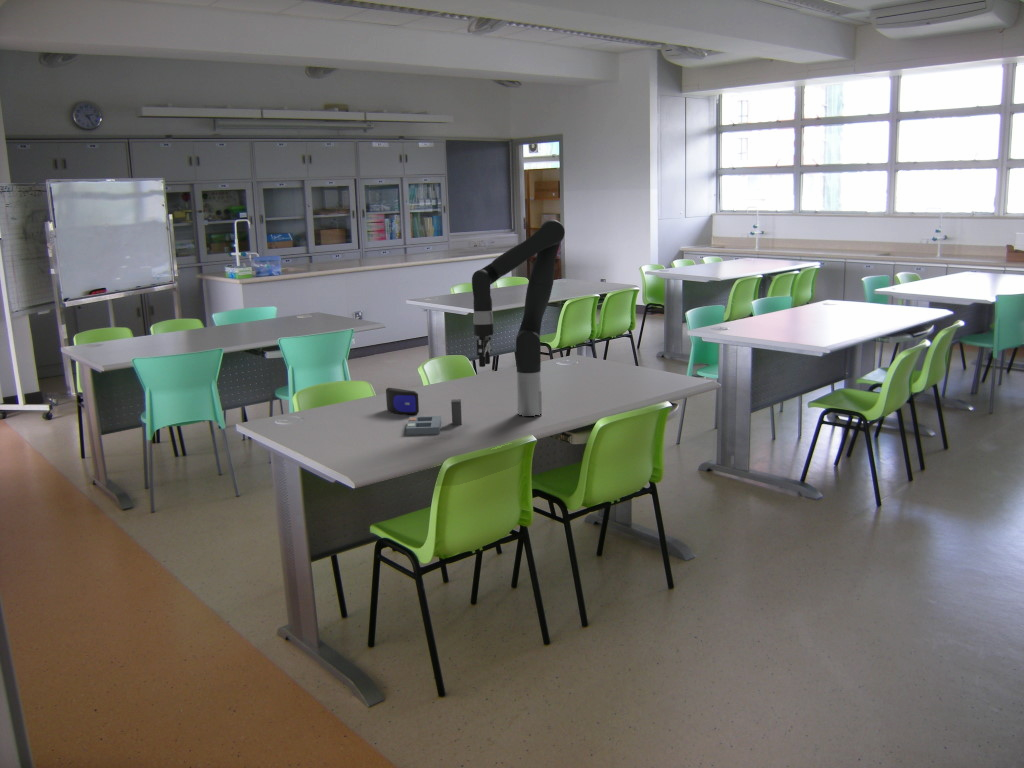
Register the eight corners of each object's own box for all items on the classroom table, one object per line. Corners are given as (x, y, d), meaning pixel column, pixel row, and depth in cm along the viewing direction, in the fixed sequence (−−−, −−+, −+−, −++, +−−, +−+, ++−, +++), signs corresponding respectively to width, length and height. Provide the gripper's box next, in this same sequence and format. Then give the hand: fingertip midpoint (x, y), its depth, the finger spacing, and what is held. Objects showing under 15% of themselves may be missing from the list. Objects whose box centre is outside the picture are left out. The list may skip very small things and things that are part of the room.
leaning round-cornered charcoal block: (381, 411, 336) (380, 389, 334) (389, 409, 340) (387, 386, 338) (412, 417, 328) (411, 393, 325) (420, 414, 331) (418, 391, 329)
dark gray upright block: (461, 422, 318) (460, 399, 316) (461, 424, 315) (460, 401, 313) (452, 422, 318) (451, 399, 316) (452, 425, 314) (451, 401, 312)
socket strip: (441, 422, 319) (441, 415, 318) (439, 433, 303) (439, 426, 303) (409, 423, 318) (409, 416, 318) (406, 435, 303) (405, 427, 302)
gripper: (489, 324, 310) (490, 367, 313) (496, 321, 324) (498, 363, 326) (469, 324, 312) (470, 367, 314) (478, 321, 325) (479, 363, 328)
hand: (484, 365), depth 320 cm, fingers open, 8 cm apart
